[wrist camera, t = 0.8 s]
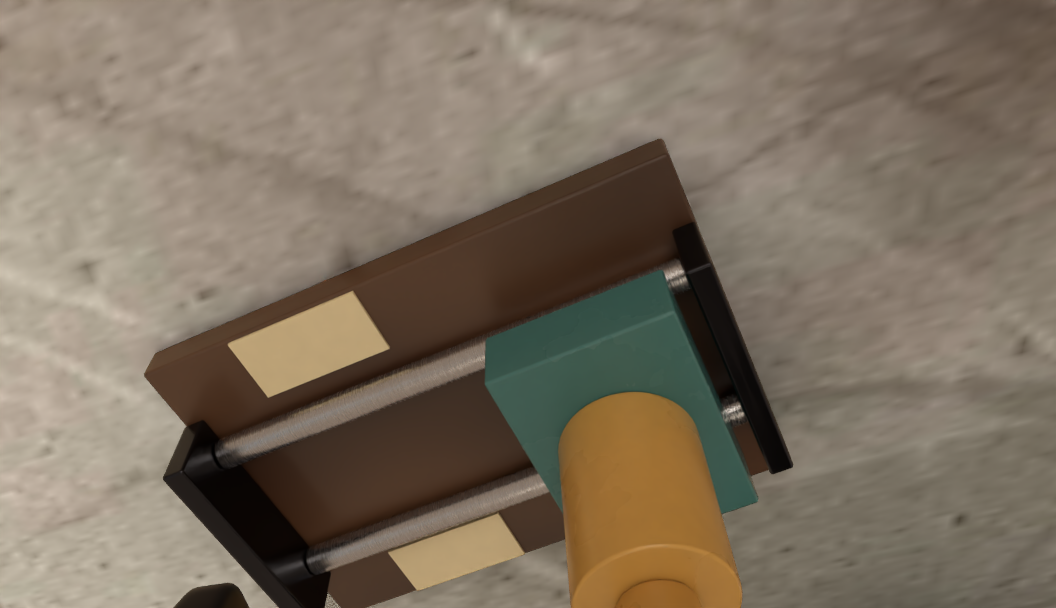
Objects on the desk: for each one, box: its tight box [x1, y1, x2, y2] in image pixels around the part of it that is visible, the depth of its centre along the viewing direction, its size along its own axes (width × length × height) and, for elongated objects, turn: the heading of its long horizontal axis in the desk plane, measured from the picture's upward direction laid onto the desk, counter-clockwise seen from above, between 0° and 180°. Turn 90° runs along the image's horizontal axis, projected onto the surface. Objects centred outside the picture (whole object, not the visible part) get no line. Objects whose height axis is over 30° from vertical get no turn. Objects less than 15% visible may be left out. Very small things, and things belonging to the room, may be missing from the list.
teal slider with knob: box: [485, 270, 758, 608], centre depth 20 cm, size 6×4×7 cm
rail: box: [144, 139, 793, 608], centre depth 24 cm, size 10×14×3 cm
